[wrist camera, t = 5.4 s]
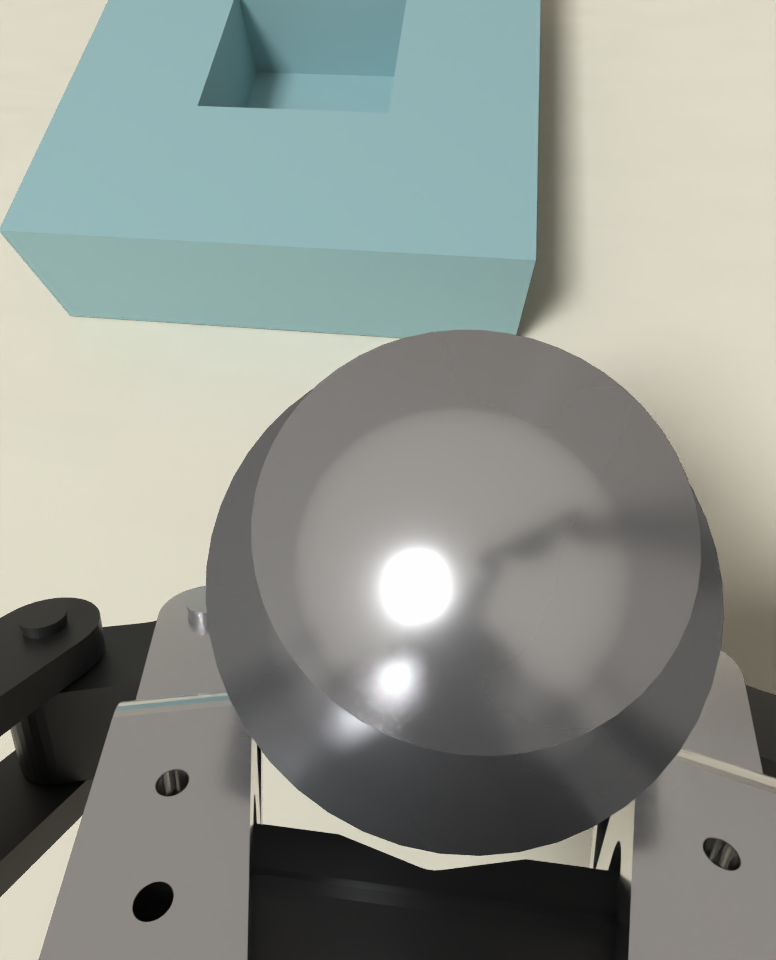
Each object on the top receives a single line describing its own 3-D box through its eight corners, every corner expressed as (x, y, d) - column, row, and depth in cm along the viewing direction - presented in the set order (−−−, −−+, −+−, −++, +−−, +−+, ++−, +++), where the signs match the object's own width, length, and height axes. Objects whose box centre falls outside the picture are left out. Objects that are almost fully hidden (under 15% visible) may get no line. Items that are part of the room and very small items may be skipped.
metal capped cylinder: (510, 601, 17) (764, 275, 5) (505, 772, 15) (884, 958, 3) (357, 586, 17) (225, 245, 5) (336, 751, 15) (57, 843, 3)
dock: (524, 19, 27) (542, -93, 23) (513, 345, 20) (536, 260, 16) (188, 11, 28) (153, -96, 25) (70, 315, 21) (-2, 230, 18)
